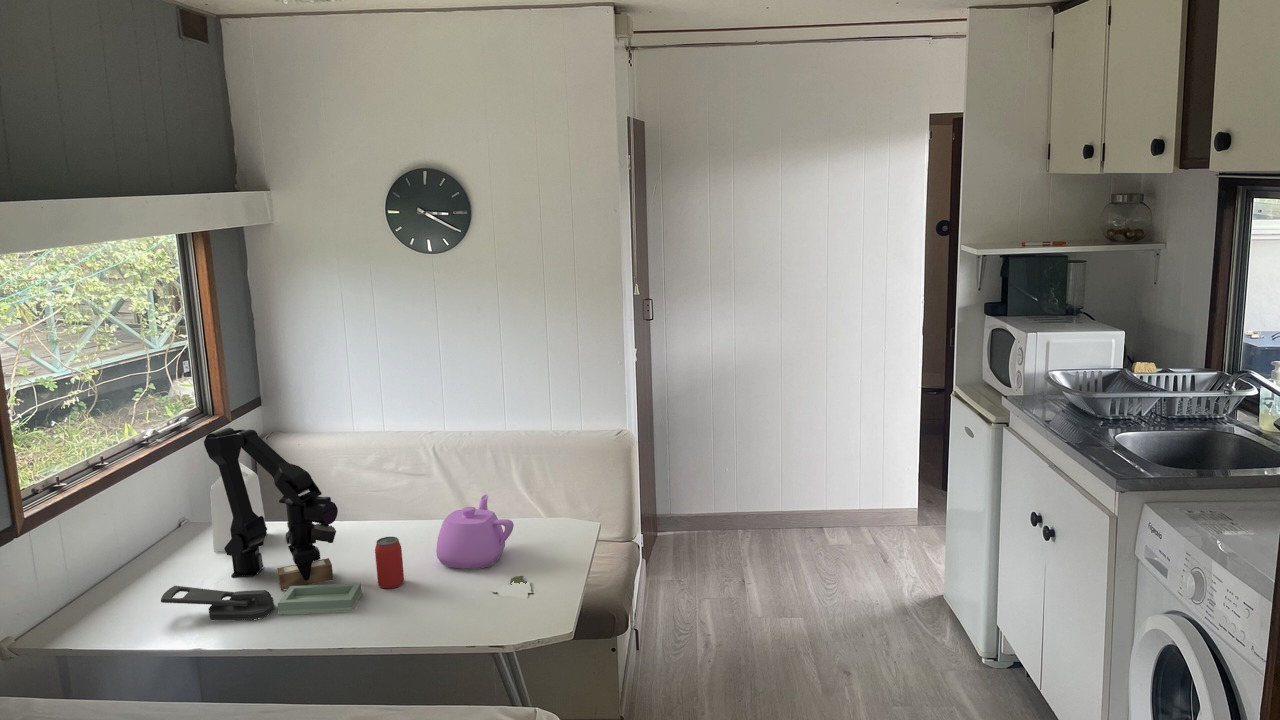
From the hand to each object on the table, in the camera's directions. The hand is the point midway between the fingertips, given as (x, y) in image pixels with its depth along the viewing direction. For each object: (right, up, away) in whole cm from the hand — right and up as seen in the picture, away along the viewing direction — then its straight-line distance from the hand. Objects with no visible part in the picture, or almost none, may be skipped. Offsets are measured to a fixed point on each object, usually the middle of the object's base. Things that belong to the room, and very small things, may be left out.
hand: (305, 576), depth 247 cm
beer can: (+23, -2, -3) cm, 23 cm away
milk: (-29, +3, +29) cm, 41 cm away
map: (+55, -3, -11) cm, 57 cm away
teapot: (+42, +2, +11) cm, 43 cm away
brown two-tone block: (0, -2, 0) cm, 2 cm away
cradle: (+9, -4, -13) cm, 16 cm away
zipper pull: (-15, -6, -17) cm, 23 cm away
